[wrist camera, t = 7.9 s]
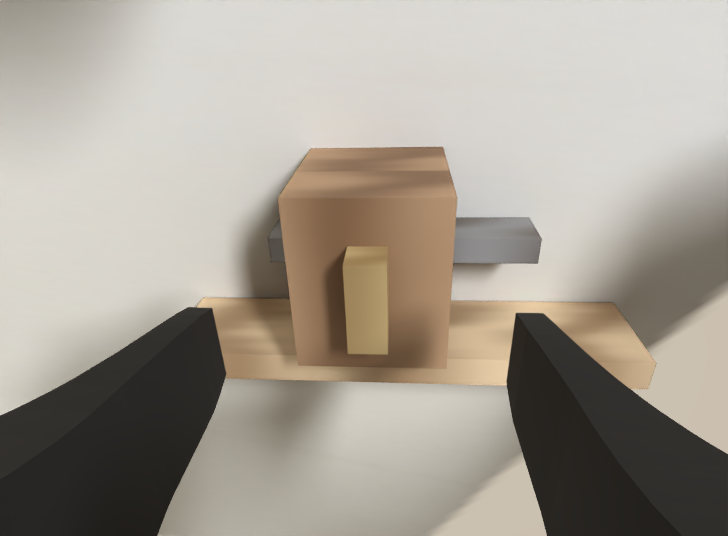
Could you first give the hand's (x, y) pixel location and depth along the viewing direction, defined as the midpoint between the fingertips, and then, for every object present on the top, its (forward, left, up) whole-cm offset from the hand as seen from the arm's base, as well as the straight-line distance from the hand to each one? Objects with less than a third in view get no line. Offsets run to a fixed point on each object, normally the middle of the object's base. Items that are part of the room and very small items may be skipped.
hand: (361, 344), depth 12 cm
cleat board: (-1, +3, -9) cm, 9 cm away
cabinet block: (0, +1, -9) cm, 9 cm away
